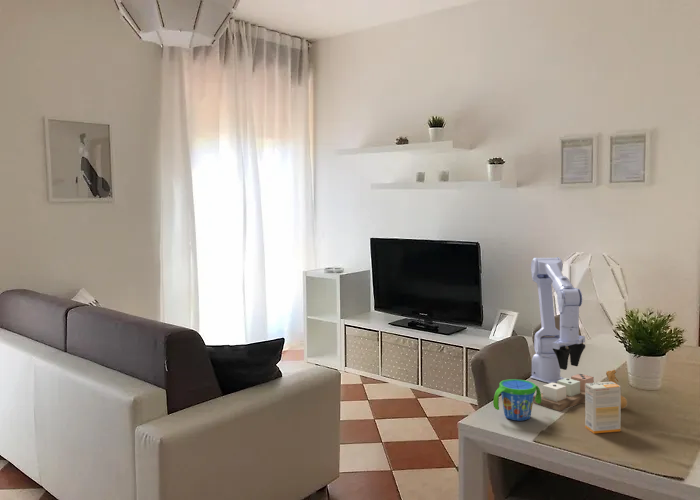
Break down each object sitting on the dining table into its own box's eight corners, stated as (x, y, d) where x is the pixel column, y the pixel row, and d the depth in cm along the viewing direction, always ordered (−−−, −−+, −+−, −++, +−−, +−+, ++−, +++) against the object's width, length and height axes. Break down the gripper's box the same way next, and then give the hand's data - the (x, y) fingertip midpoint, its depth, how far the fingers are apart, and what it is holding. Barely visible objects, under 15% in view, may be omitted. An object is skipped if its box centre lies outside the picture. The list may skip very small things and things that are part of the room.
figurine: (624, 413, 175) (625, 374, 174) (603, 410, 178) (603, 372, 177) (628, 405, 182) (629, 367, 181) (608, 402, 185) (608, 365, 184)
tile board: (559, 411, 178) (559, 404, 178) (532, 402, 186) (532, 396, 186) (603, 394, 192) (603, 388, 192) (576, 387, 200) (576, 381, 200)
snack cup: (531, 408, 181) (531, 376, 180) (550, 420, 171) (550, 386, 170) (485, 413, 178) (485, 381, 177) (502, 426, 167) (502, 392, 167)
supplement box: (611, 425, 166) (612, 380, 165) (621, 432, 162) (621, 386, 160) (584, 427, 165) (584, 382, 164) (593, 434, 161) (593, 388, 159)
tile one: (556, 401, 181) (556, 388, 181) (542, 397, 185) (542, 384, 185) (566, 398, 184) (566, 385, 184) (552, 394, 188) (552, 381, 188)
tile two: (570, 396, 185) (570, 383, 185) (557, 392, 190) (557, 380, 189) (580, 393, 188) (580, 380, 188) (566, 389, 192) (566, 377, 192)
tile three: (584, 391, 190) (584, 379, 189) (571, 388, 194) (571, 375, 194) (593, 388, 193) (593, 376, 192) (579, 385, 197) (580, 373, 196)
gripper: (566, 331, 180) (566, 374, 181) (593, 324, 188) (593, 365, 189) (547, 327, 185) (546, 369, 187) (574, 321, 194) (573, 361, 195)
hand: (568, 367), depth 188 cm, fingers open, 5 cm apart
